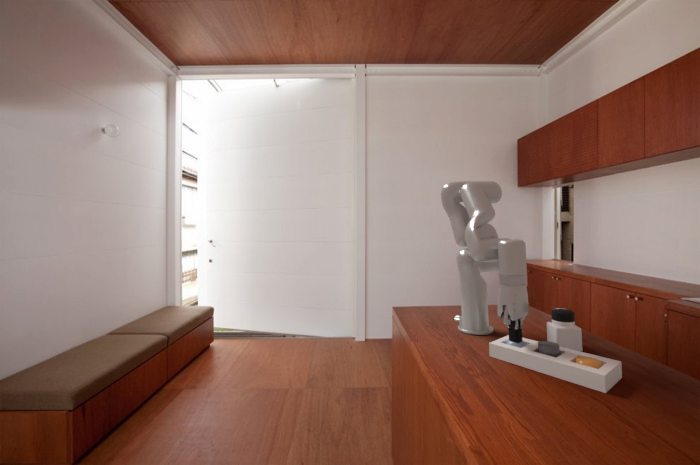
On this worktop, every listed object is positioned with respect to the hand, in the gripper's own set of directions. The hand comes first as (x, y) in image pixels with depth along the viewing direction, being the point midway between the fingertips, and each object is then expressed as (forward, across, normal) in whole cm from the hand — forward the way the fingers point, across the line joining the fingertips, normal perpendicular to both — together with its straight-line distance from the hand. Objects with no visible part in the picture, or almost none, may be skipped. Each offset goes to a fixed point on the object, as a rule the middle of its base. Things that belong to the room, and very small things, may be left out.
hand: (515, 341), depth 92 cm
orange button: (+4, 0, +18) cm, 18 cm away
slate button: (+4, 0, 0) cm, 4 cm away
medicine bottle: (+5, -18, +6) cm, 20 cm away
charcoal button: (+2, 0, +9) cm, 9 cm away
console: (+4, 0, +9) cm, 10 cm away
